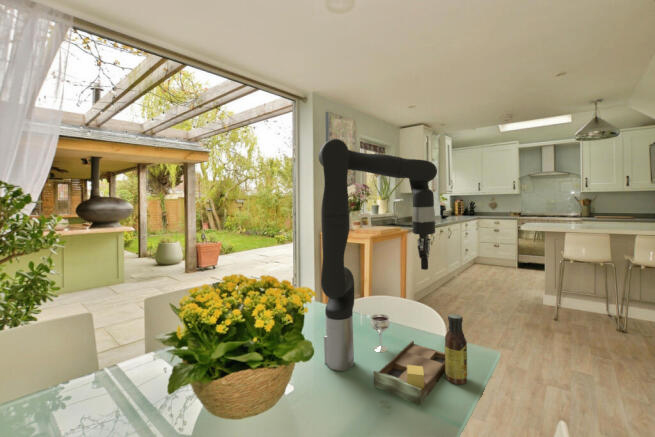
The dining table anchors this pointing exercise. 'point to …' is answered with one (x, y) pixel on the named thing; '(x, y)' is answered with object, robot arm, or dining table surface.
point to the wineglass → (380, 328)
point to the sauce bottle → (455, 351)
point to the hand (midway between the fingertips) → (424, 269)
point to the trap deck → (396, 372)
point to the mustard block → (415, 376)
